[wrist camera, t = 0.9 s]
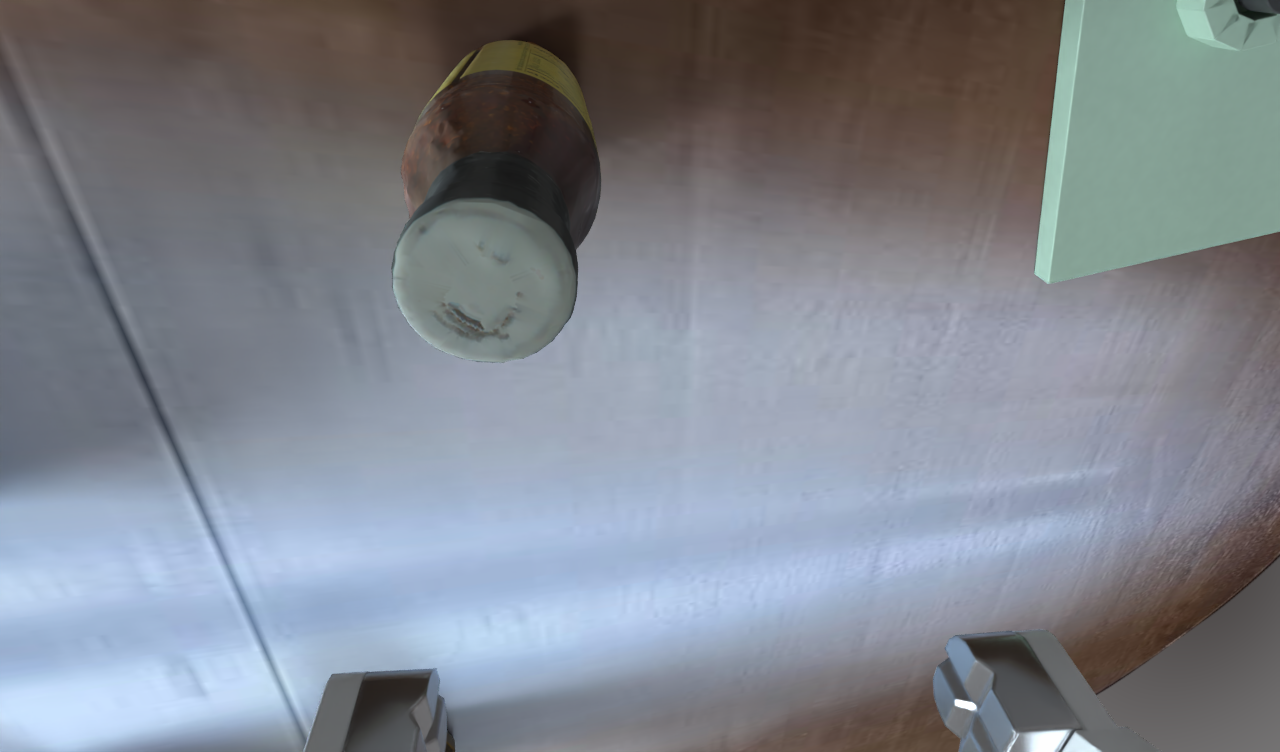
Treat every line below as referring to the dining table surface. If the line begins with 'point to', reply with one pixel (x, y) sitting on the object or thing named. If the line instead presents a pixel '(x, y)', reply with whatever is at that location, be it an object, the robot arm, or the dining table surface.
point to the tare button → (1261, 5)
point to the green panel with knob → (1159, 133)
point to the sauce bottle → (497, 205)
